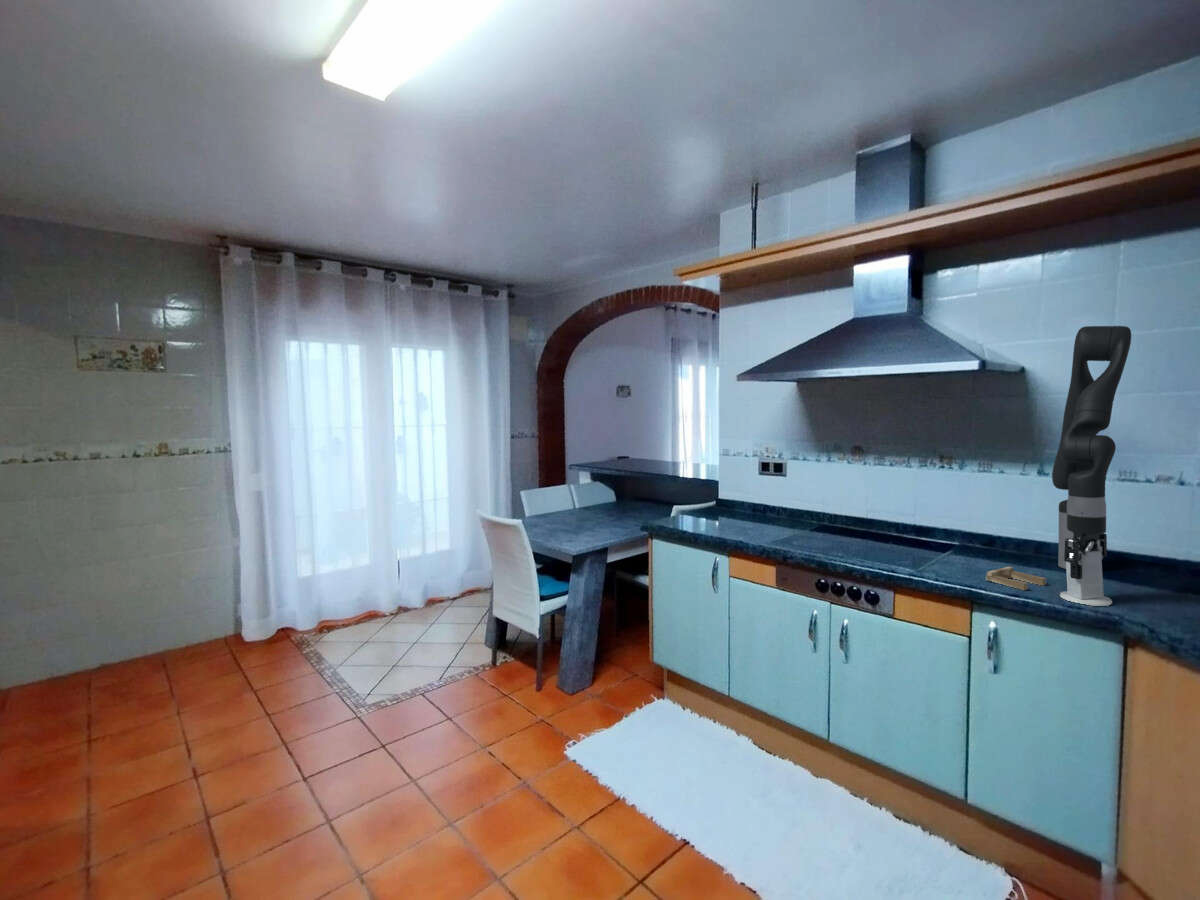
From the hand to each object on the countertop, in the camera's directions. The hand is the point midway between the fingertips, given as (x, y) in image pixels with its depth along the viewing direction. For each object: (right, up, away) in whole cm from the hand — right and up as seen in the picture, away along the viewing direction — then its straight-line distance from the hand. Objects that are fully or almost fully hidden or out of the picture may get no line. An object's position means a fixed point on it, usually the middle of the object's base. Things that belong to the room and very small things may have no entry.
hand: (1085, 576), depth 141 cm
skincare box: (0, -6, 0) cm, 6 cm away
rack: (-6, -6, +15) cm, 17 cm away
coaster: (0, -6, 0) cm, 6 cm away
